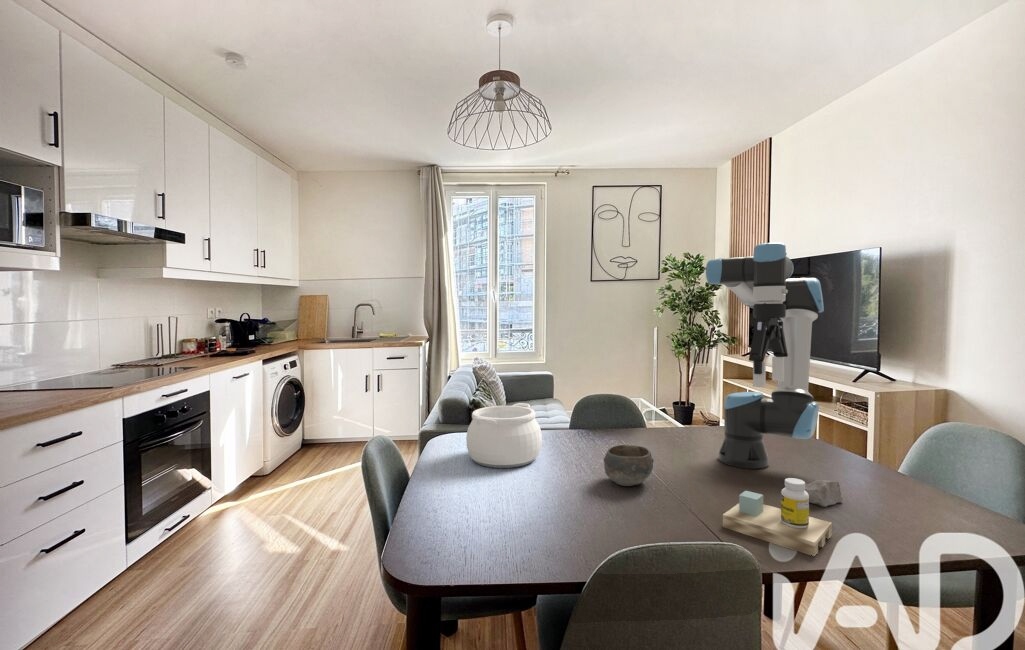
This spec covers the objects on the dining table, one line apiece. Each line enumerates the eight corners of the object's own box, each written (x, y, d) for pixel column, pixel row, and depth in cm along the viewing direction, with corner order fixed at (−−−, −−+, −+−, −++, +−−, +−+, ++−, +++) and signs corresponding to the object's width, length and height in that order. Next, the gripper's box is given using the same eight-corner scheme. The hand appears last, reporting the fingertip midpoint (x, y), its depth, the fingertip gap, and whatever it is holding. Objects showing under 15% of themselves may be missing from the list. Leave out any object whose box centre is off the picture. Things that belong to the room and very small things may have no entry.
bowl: (656, 478, 145) (656, 445, 145) (648, 496, 132) (648, 460, 131) (611, 472, 151) (611, 441, 151) (598, 489, 137) (598, 454, 137)
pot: (515, 478, 147) (514, 423, 147) (448, 464, 161) (447, 414, 161) (556, 453, 172) (556, 406, 172) (496, 443, 186) (495, 399, 185)
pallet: (722, 527, 113) (722, 514, 113) (744, 510, 121) (744, 499, 121) (814, 556, 99) (814, 542, 99) (831, 535, 108) (831, 522, 108)
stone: (823, 494, 132) (823, 473, 132) (849, 506, 124) (849, 484, 124) (792, 497, 130) (792, 476, 130) (817, 509, 122) (817, 487, 122)
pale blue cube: (739, 511, 114) (739, 494, 114) (745, 506, 117) (745, 490, 117) (756, 516, 111) (756, 499, 111) (763, 511, 114) (763, 494, 114)
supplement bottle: (775, 519, 110) (775, 477, 109) (798, 518, 110) (798, 476, 110) (791, 529, 104) (791, 485, 104) (814, 528, 105) (815, 484, 104)
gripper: (767, 302, 113) (766, 391, 114) (800, 302, 130) (800, 379, 131) (734, 303, 119) (734, 387, 119) (770, 303, 136) (770, 377, 136)
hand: (768, 383), depth 125 cm, fingers open, 13 cm apart
